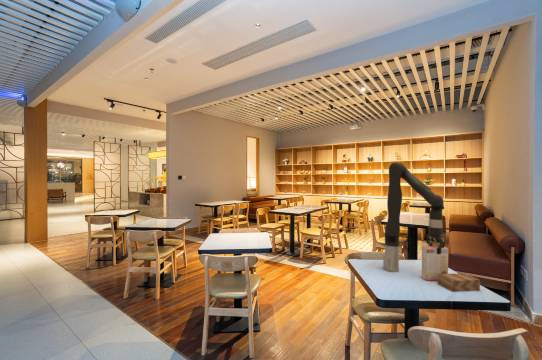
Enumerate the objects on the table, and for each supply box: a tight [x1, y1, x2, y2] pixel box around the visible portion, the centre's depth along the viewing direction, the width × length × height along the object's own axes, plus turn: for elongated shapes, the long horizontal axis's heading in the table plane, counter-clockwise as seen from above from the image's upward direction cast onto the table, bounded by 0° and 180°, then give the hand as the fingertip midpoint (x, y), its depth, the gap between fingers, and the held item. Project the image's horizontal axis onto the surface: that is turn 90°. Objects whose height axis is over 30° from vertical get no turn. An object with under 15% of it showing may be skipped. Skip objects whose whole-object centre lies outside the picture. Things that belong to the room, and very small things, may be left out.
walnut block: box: [437, 272, 481, 292], centre depth 162 cm, size 18×11×6 cm, turn 98°
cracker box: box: [421, 245, 449, 282], centre depth 174 cm, size 14×6×21 cm, turn 91°
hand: (434, 252), depth 174 cm, fingers closed on cracker box, 6 cm apart
